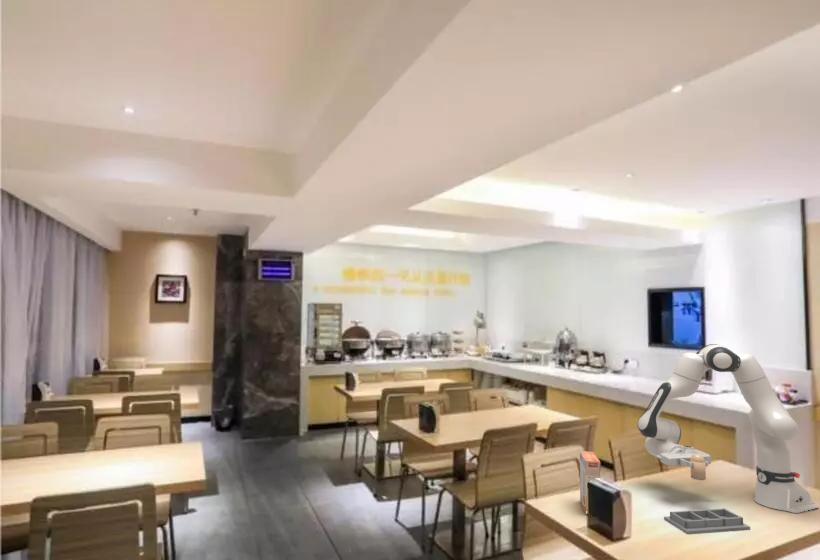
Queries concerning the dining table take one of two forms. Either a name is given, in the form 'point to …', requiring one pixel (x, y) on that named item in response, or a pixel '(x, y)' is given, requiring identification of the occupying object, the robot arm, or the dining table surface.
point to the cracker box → (587, 473)
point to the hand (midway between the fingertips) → (699, 464)
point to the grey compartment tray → (706, 521)
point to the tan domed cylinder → (698, 467)
